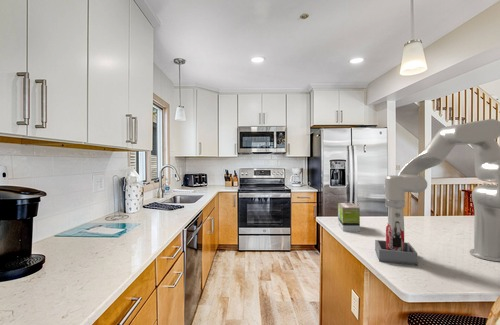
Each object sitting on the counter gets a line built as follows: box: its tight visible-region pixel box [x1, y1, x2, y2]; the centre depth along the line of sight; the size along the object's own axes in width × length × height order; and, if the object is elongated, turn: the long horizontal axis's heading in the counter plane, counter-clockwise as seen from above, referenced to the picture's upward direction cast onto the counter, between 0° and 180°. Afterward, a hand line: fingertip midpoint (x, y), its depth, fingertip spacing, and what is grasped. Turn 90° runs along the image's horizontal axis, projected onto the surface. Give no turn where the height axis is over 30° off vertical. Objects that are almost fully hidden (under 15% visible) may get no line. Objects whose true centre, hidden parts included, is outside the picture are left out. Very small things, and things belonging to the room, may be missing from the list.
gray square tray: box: [374, 239, 418, 267], centre depth 114 cm, size 14×14×5 cm
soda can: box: [385, 222, 405, 251], centre depth 114 cm, size 7×7×12 cm
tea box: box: [337, 202, 361, 233], centre depth 161 cm, size 15×10×15 cm, turn 172°
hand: (395, 243), depth 114 cm, fingers closed on soda can, 7 cm apart
